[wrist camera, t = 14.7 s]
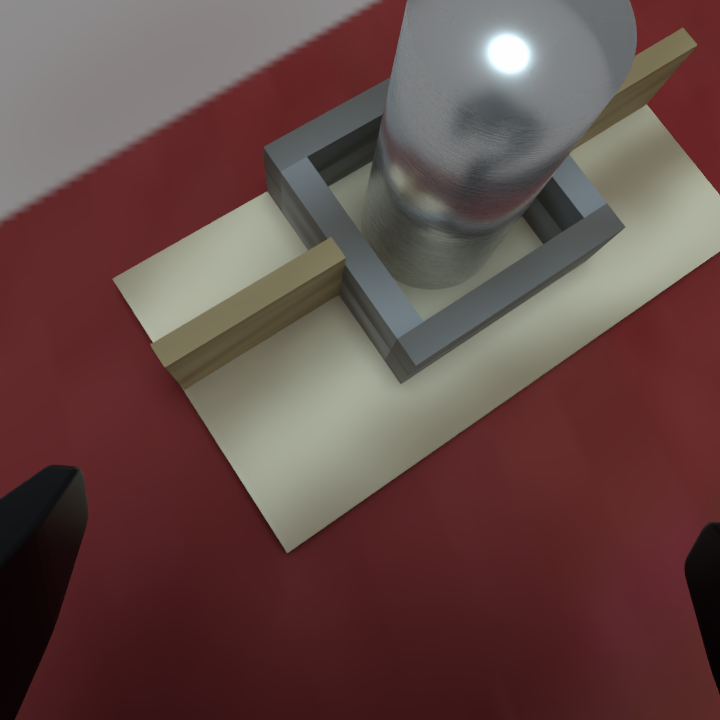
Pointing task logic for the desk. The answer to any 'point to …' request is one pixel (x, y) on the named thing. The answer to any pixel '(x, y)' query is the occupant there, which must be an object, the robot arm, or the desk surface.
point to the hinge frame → (407, 300)
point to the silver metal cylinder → (484, 123)
